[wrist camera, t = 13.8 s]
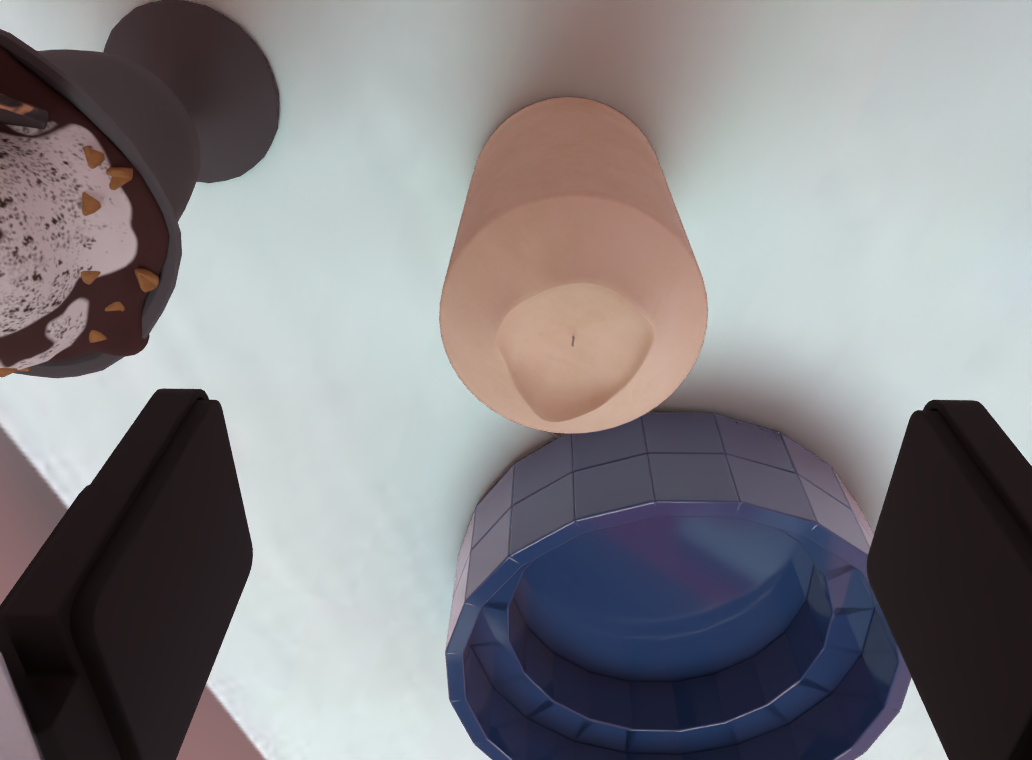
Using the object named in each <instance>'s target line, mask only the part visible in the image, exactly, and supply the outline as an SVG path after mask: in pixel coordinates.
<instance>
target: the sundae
mask: <svg viewBox="0 0 1032 760" xmlns="http://www.w3.org/2000/svg"><path fill="white" fill-rule="evenodd" d="M278 117H279V100H278V91H277V88H276V85H275V81H274V78H273V75H272V73H271V70H270V68H269V66H268V63H267V61H266V58H265V57H264V55H263V54H262V53H261V51H260V50H259V49H258V47H257V46H256V44H255V43H254V42H253V41H252V39H251V38H250V37H249V36H248V35H247V34H246V33H245V32H244V31H243V30H242V28H241V27H240V26H238V25H237V24H235V23H234V22H233V21H231V20H230V19H228V18H227V17H225V16H224V15H222V14H220V13H218V12H217V11H215V10H213V9H211V8H209V7H207V6H205V5H201V4H197V3H193V2H189V1H182V0H161V1H156V2H151V3H148V4H146V5H143V6H140V7H137V8H135V9H134V10H133V11H131V12H130V13H129V14H128V15H126V16H125V17H124V18H123V19H122V20H121V21H120V22H119V23H118V24H117V25H116V26H115V28H114V29H113V30H112V31H111V33H110V36H109V38H108V40H107V43H106V45H105V48H104V52H103V53H101V52H94V51H80V50H45V51H36V50H34V49H33V48H31V47H30V46H28V45H27V44H25V43H24V42H23V41H21V40H20V39H18V38H17V37H15V36H14V35H12V34H11V33H9V32H6V31H4V30H1V29H0V377H5V376H7V375H9V374H11V373H17V374H24V375H30V376H39V377H49V378H64V377H77V376H81V375H85V374H89V373H94V372H98V371H102V370H104V369H106V368H107V367H109V366H110V365H112V364H114V363H115V362H117V361H118V360H120V359H122V358H123V357H125V356H130V355H135V354H137V353H139V352H140V351H142V350H143V349H144V348H145V346H146V345H147V343H148V340H149V333H150V331H151V330H152V328H153V327H154V325H155V324H156V322H157V320H158V319H159V317H160V316H161V314H162V313H163V311H164V309H165V307H166V305H167V303H168V300H169V298H170V296H171V294H172V292H173V290H174V288H175V285H176V280H177V275H178V270H179V265H180V261H181V256H182V248H181V232H180V229H179V226H178V221H179V219H180V217H181V215H182V214H183V212H184V210H185V208H186V206H187V204H188V201H189V199H190V197H191V194H192V192H193V189H194V187H195V184H196V182H205V183H213V182H219V181H226V180H229V179H232V178H235V177H239V176H241V175H243V174H244V173H246V172H247V171H248V170H250V169H251V168H253V167H254V166H255V165H256V164H257V163H258V162H259V161H260V160H261V159H263V158H264V156H265V155H266V153H267V151H268V149H269V147H270V146H271V144H272V141H273V139H274V136H275V134H276V131H277V129H278Z"/></svg>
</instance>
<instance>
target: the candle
mask: <svg viewBox="0 0 1032 760" xmlns="http://www.w3.org/2000/svg"><path fill="white" fill-rule="evenodd" d="M707 318H708V304H707V294H706V290H705V285H704V281H703V277H702V275H701V272H700V269H699V267H698V264H697V261H696V259H695V256H694V253H693V251H692V248H691V246H690V243H689V240H688V238H687V235H686V232H685V230H684V227H683V225H682V222H681V219H680V217H679V214H678V211H677V209H676V206H675V203H674V201H673V198H672V196H671V193H670V190H669V188H668V185H667V182H666V180H665V177H664V174H663V172H662V169H661V167H660V164H659V162H658V159H657V157H656V155H655V152H654V150H653V149H652V147H651V145H650V143H649V141H648V140H647V138H646V137H645V136H644V134H643V133H642V132H641V130H640V129H639V128H638V127H637V126H636V125H635V124H634V123H633V122H632V121H631V120H629V119H628V118H627V117H625V116H624V115H623V114H621V113H620V112H618V111H616V110H615V109H613V108H611V107H609V106H607V105H604V104H602V103H599V102H596V101H593V100H588V99H584V98H574V97H563V98H553V99H548V100H544V101H541V102H537V103H534V104H532V105H530V106H528V107H526V108H523V109H521V110H520V111H518V112H517V113H515V114H514V115H512V116H511V117H509V118H508V119H507V120H506V121H505V122H504V123H502V124H501V125H500V126H499V127H498V128H497V129H496V131H495V132H494V133H493V134H492V135H491V136H490V138H489V139H488V141H487V142H486V144H485V145H484V147H483V149H482V151H481V153H480V155H479V157H478V160H477V163H476V166H475V169H474V172H473V175H472V178H471V182H470V186H469V190H468V194H467V197H466V201H465V205H464V209H463V213H462V216H461V220H460V224H459V228H458V232H457V235H456V239H455V243H454V247H453V251H452V254H451V258H450V262H449V266H448V270H447V273H446V277H445V281H444V285H443V290H442V295H441V301H440V316H439V321H440V330H441V337H442V340H443V344H444V348H445V351H446V354H447V356H448V358H449V361H450V363H451V365H452V367H453V368H454V370H455V372H456V374H457V375H458V377H459V378H460V380H461V381H462V382H463V383H464V385H465V386H466V387H467V389H468V390H469V391H470V392H471V393H472V394H473V395H474V396H475V397H476V398H477V399H478V400H479V401H481V402H482V403H483V404H485V405H486V406H487V407H489V408H490V409H491V410H493V411H494V412H496V413H498V414H500V415H501V416H503V417H505V418H507V419H509V420H511V421H513V422H516V423H518V424H520V425H524V426H527V427H530V428H533V429H537V430H542V431H547V432H555V433H567V434H568V433H588V432H595V431H601V430H605V429H609V428H613V427H617V426H619V425H622V424H625V423H628V422H630V421H632V420H634V419H636V418H638V417H640V416H642V415H644V414H646V413H647V412H649V411H651V410H652V409H654V408H655V407H657V406H658V405H659V404H661V403H662V402H663V401H664V400H665V399H667V398H668V397H669V396H670V395H671V394H672V393H673V392H674V391H675V390H676V389H677V388H678V387H679V386H680V384H681V383H682V382H683V381H684V379H685V378H686V376H687V375H688V374H689V372H690V371H691V369H692V367H693V365H694V363H695V362H696V360H697V358H698V356H699V353H700V350H701V348H702V345H703V342H704V338H705V333H706V328H707Z"/></svg>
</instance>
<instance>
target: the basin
mask: <svg viewBox="0 0 1032 760" xmlns="http://www.w3.org/2000/svg"><path fill="white" fill-rule="evenodd" d="M873 537H874V534H873V532H872V530H871V528H870V526H869V524H868V522H867V520H866V518H865V516H864V514H863V512H862V510H861V509H860V507H859V506H858V504H857V503H856V501H855V500H854V499H853V497H852V496H851V494H850V493H849V491H848V490H847V488H846V487H845V485H844V484H843V482H842V481H841V480H840V478H839V477H838V475H837V474H836V472H835V471H834V469H833V468H832V467H831V466H830V465H828V464H827V463H825V462H824V461H822V460H821V459H819V458H818V457H816V456H815V455H813V454H812V453H810V452H809V451H807V450H806V449H804V448H803V447H801V446H800V445H798V444H797V443H795V442H794V441H792V440H791V439H790V438H788V437H787V436H785V435H784V434H782V433H779V432H777V431H774V430H770V429H767V428H763V427H760V426H756V425H753V424H750V423H746V422H743V421H739V420H736V419H732V418H729V417H725V416H722V415H718V414H713V413H676V412H647V413H646V414H644V415H642V416H640V417H638V418H636V419H634V420H632V421H630V422H628V423H625V424H622V425H619V426H617V427H613V428H609V429H605V430H601V431H595V432H588V433H568V434H567V433H566V434H564V435H563V436H561V437H559V438H557V439H556V440H554V441H552V442H551V443H549V444H547V445H545V446H544V447H542V448H540V449H539V450H537V451H535V452H533V453H532V454H530V455H528V456H527V457H525V458H523V459H522V460H520V461H518V462H516V464H514V465H513V466H512V467H511V468H510V469H509V470H508V471H507V473H506V474H505V475H504V476H503V477H502V478H501V479H500V480H499V482H498V483H497V484H496V485H495V486H494V487H493V488H492V489H491V491H490V492H489V493H488V494H487V495H486V496H485V497H484V499H483V500H482V501H481V502H480V503H479V504H478V505H477V507H476V508H475V511H474V513H473V516H472V519H471V521H470V524H469V527H468V530H467V532H466V535H465V538H464V541H463V543H462V546H461V549H460V551H459V555H458V563H457V570H456V577H455V584H454V592H453V600H452V606H451V614H450V621H449V628H448V635H447V643H446V650H445V656H446V668H447V680H448V693H449V700H450V703H451V704H452V706H453V708H454V710H455V711H456V713H457V715H458V717H459V719H460V720H461V722H462V724H463V726H464V727H465V729H466V731H467V733H468V735H469V736H470V738H471V740H472V742H473V743H474V744H475V746H477V747H478V748H479V749H480V750H481V751H482V752H484V753H485V754H486V755H487V756H488V757H489V758H491V759H492V760H855V759H856V758H858V757H859V756H861V755H862V754H864V752H866V751H867V750H868V749H869V748H870V746H871V745H872V744H873V743H874V742H875V740H876V739H877V738H878V737H879V736H880V734H881V733H882V732H883V731H884V730H885V729H886V727H887V726H888V725H889V724H890V723H891V721H892V720H893V719H894V718H895V717H896V715H897V714H898V713H899V712H900V709H901V708H902V705H903V702H904V699H905V696H906V693H907V689H908V686H909V683H910V680H911V675H910V672H909V670H908V668H907V666H906V664H905V661H904V659H903V657H902V655H901V652H900V650H899V648H898V646H897V644H896V641H895V639H894V637H893V635H892V633H891V630H890V628H889V626H888V624H887V621H886V619H885V617H884V615H883V613H882V610H881V608H880V606H879V604H878V601H877V599H876V597H875V595H874V593H873V590H872V588H871V586H870V583H869V580H868V576H867V567H866V566H867V557H868V553H869V550H870V546H871V543H872V540H873Z"/></svg>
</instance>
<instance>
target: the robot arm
mask: <svg viewBox="0 0 1032 760" xmlns="http://www.w3.org/2000/svg"><path fill="white" fill-rule="evenodd" d="M252 559H253V548H252V542H251V538H250V533H249V528H248V524H247V519H246V515H245V510H244V506H243V501H242V497H241V492H240V488H239V483H238V478H237V474H236V469H235V465H234V460H233V456H232V451H231V447H230V442H229V437H228V433H227V428H226V424H225V419H224V415H223V410H222V407H221V404H220V403H219V401H217V400H209V398H208V396H207V394H206V393H205V391H203V390H202V389H159V390H157V391H156V392H155V393H154V394H153V396H152V397H151V398H150V400H149V401H148V403H147V404H146V406H145V407H144V408H143V410H142V411H141V413H140V414H139V416H138V417H137V418H136V420H135V421H134V423H133V424H132V426H131V427H130V428H129V430H128V431H127V433H126V434H125V436H124V437H123V438H122V440H121V441H120V443H119V444H118V446H117V447H116V448H115V450H114V451H113V453H112V454H111V456H110V457H109V458H108V460H107V461H106V463H105V464H104V466H103V467H102V468H101V470H100V471H99V473H98V474H97V476H96V477H95V478H94V480H93V481H92V483H91V484H90V485H88V486H86V487H85V488H84V489H83V490H82V492H81V493H80V494H79V495H78V496H77V498H76V499H75V501H74V502H73V503H72V505H71V506H70V508H69V509H68V510H67V512H66V513H65V515H64V516H63V518H62V519H61V520H60V522H59V523H58V525H57V526H56V527H55V529H54V530H53V532H52V533H51V535H50V536H49V538H48V539H47V540H46V542H45V543H44V544H43V546H42V547H41V549H40V550H39V552H38V553H37V555H36V556H35V557H34V559H33V560H32V561H31V563H30V564H29V566H28V567H27V568H26V570H25V571H24V573H23V574H22V576H21V577H20V578H19V580H18V581H17V583H16V584H15V586H14V587H13V589H12V590H11V591H10V593H9V594H8V595H7V597H6V598H5V600H4V601H3V602H2V604H1V605H0V760H176V758H177V756H178V753H179V750H180V748H181V745H182V743H183V740H184V738H185V735H186V733H187V730H188V728H189V725H190V723H191V720H192V718H193V715H194V713H195V710H196V708H197V705H198V702H199V700H200V697H201V695H202V692H203V690H204V687H205V685H206V682H207V680H208V677H209V675H210V672H211V670H212V667H213V665H214V662H215V659H216V657H217V654H218V652H219V649H220V647H221V644H222V642H223V639H224V637H225V634H226V632H227V629H228V627H229V624H230V622H231V619H232V617H233V614H234V611H235V609H236V606H237V604H238V601H239V599H240V596H241V594H242V591H243V589H244V586H245V584H246V581H247V579H248V576H249V573H250V570H251V566H252ZM866 567H867V576H868V580H869V583H870V586H871V588H872V590H873V593H874V595H875V597H876V599H877V601H878V604H879V606H880V608H881V610H882V613H883V615H884V617H885V619H886V621H887V624H888V626H889V628H890V630H891V633H892V635H893V637H894V639H895V641H896V644H897V646H898V648H899V650H900V652H901V655H902V657H903V659H904V661H905V664H906V666H907V668H908V670H909V672H910V675H911V677H912V679H913V681H914V684H915V686H916V688H917V690H918V692H919V695H920V697H921V699H922V701H923V704H924V706H925V708H926V710H927V712H928V715H929V717H930V719H931V721H932V723H933V726H934V728H935V730H936V732H937V735H938V737H939V739H940V741H941V743H942V746H943V748H944V750H945V752H946V755H947V757H948V759H949V760H1032V466H1031V465H1030V464H1029V462H1028V461H1027V460H1026V459H1025V457H1024V456H1023V455H1022V454H1021V452H1020V451H1019V450H1018V449H1017V447H1016V446H1015V445H1014V444H1013V442H1012V441H1011V440H1010V439H1009V437H1008V436H1007V435H1006V434H1005V432H1004V431H1003V430H1002V429H1001V427H1000V426H999V425H998V424H997V422H996V421H995V420H994V419H993V417H992V416H991V415H990V414H989V412H988V411H987V410H986V409H985V407H984V406H983V405H982V404H981V403H979V402H978V401H972V400H932V401H930V402H928V403H927V404H926V406H925V407H924V409H923V410H917V411H915V412H914V413H913V414H912V415H911V417H910V420H909V423H908V426H907V429H906V432H905V436H904V439H903V442H902V445H901V449H900V452H899V455H898V459H897V462H896V465H895V468H894V472H893V475H892V478H891V481H890V485H889V488H888V491H887V494H886V498H885V501H884V504H883V507H882V511H881V514H880V517H879V520H878V524H877V527H876V530H875V533H874V537H873V540H872V543H871V546H870V550H869V553H868V557H867V566H866Z"/></svg>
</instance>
